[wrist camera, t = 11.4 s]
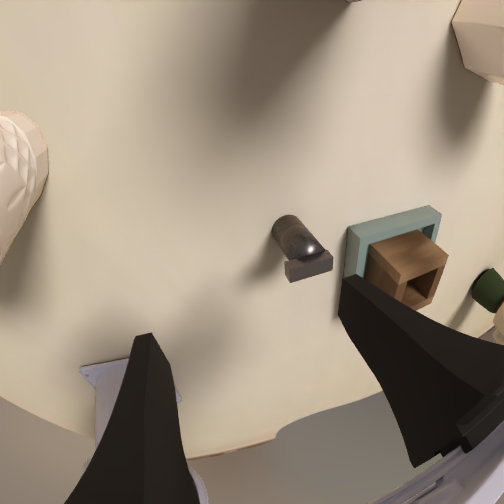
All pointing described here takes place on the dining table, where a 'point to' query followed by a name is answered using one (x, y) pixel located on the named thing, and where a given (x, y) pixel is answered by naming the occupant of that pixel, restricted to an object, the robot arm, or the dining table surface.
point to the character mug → (492, 299)
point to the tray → (386, 234)
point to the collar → (406, 267)
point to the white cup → (19, 173)
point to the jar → (481, 37)
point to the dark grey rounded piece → (300, 249)
